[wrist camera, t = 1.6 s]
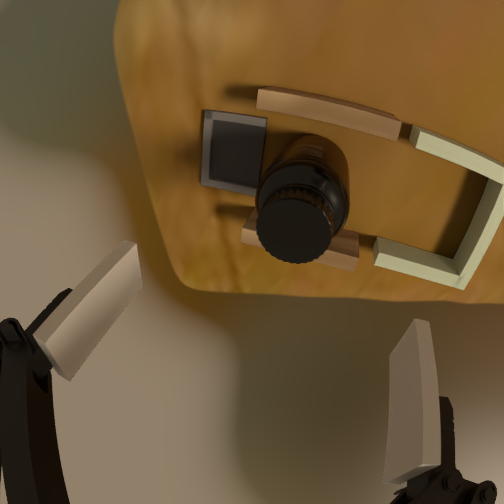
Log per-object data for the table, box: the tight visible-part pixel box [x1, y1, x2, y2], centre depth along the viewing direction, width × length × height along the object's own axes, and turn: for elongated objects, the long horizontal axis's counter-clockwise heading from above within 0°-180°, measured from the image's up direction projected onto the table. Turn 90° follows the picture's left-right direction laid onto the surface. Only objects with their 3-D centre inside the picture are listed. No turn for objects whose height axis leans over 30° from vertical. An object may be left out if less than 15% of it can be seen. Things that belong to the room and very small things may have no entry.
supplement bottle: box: [255, 135, 350, 264], centre depth 23 cm, size 7×7×12 cm
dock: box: [373, 125, 504, 290], centre depth 24 cm, size 14×11×3 cm
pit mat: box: [201, 110, 267, 196], centre depth 29 cm, size 8×6×1 cm
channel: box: [241, 86, 402, 272], centre depth 26 cm, size 14×11×4 cm
